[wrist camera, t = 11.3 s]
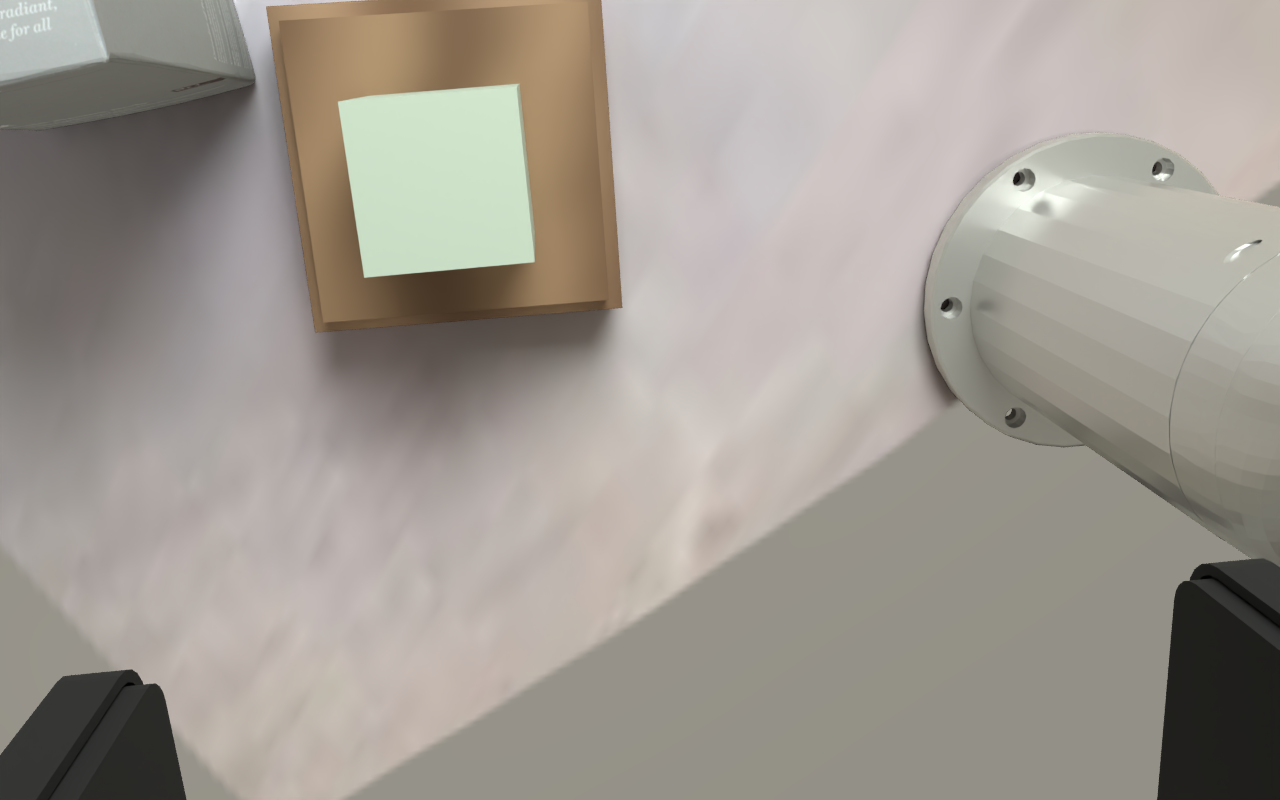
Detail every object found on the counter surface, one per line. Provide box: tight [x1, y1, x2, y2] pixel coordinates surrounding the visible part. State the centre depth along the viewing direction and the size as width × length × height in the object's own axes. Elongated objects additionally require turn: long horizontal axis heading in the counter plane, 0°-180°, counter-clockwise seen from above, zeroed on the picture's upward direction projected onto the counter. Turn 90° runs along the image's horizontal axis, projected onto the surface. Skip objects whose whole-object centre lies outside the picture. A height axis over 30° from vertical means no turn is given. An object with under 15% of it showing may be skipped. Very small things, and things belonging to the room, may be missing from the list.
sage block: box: [338, 84, 535, 278], centre depth 35 cm, size 5×5×6 cm
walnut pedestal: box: [266, 0, 622, 333], centre depth 40 cm, size 11×11×4 cm
